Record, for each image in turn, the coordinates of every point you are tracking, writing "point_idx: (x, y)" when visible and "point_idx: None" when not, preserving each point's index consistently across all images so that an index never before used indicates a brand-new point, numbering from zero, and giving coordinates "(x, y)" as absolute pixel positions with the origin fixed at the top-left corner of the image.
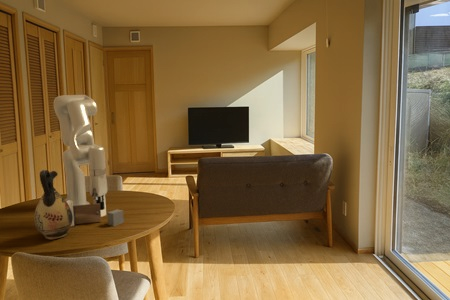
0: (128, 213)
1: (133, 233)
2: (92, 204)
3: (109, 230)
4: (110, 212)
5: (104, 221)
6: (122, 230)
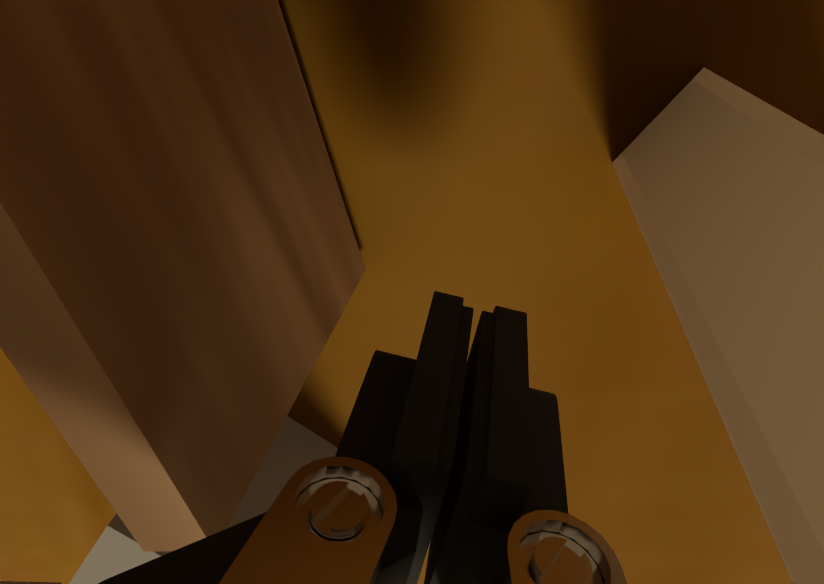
0: (738, 571)
1: (21, 578)
2: (25, 361)
3: (29, 407)
4: (119, 564)
5: (372, 310)
6: (66, 511)
